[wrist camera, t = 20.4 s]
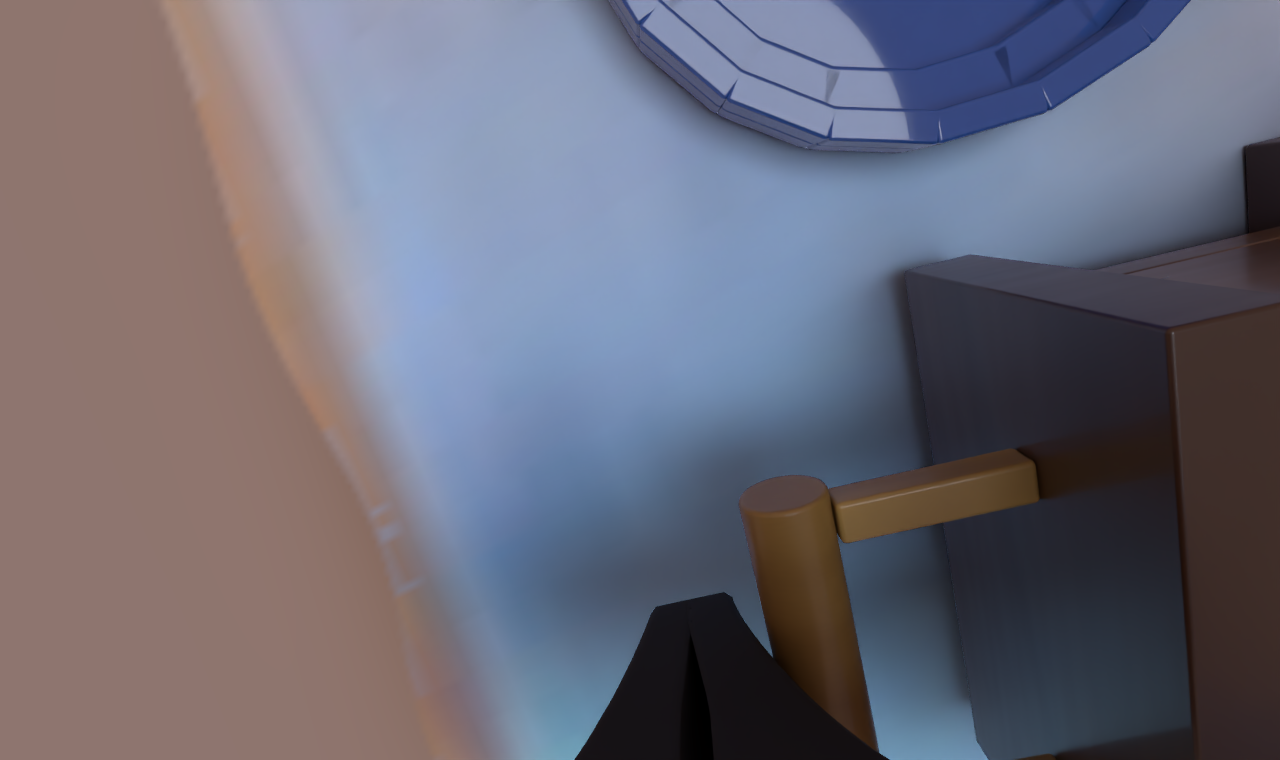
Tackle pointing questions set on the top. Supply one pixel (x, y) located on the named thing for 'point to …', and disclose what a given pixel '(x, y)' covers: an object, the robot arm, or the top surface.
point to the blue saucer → (888, 61)
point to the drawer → (1072, 508)
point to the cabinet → (1263, 185)
